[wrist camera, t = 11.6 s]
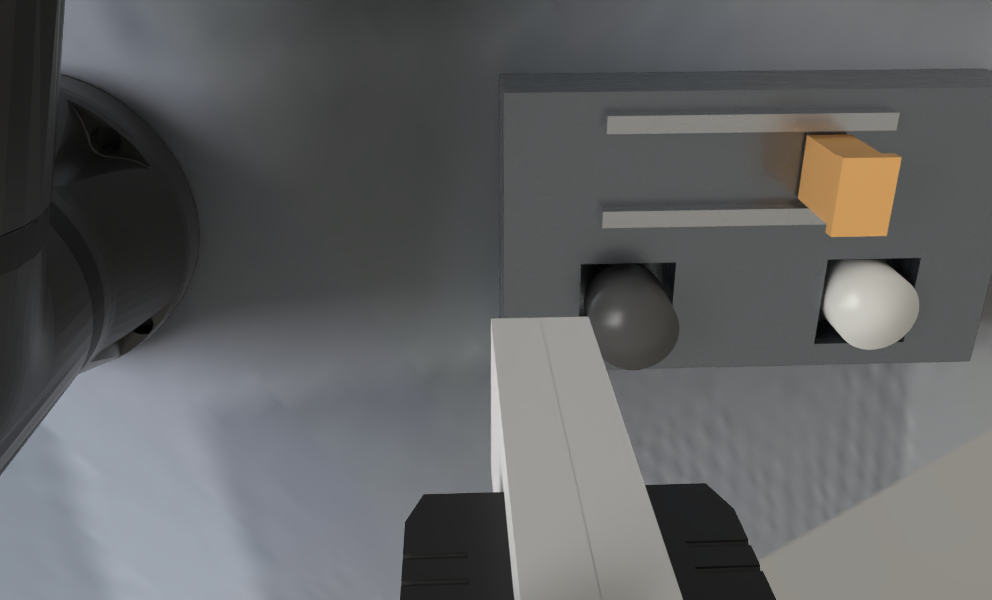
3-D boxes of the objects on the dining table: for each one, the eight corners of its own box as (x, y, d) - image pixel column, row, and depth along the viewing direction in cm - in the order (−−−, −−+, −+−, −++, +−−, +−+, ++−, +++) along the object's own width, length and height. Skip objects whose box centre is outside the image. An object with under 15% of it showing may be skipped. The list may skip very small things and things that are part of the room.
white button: (805, 319, 47) (830, 350, 44) (816, 248, 45) (843, 275, 42) (879, 317, 47) (910, 348, 44) (893, 247, 45) (926, 274, 42)
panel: (500, 331, 49) (504, 379, 44) (499, 74, 43) (505, 96, 38) (927, 322, 50) (978, 368, 45) (983, 68, 44) (1048, 90, 39)
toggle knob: (793, 202, 42) (830, 236, 37) (803, 130, 40) (843, 158, 36) (843, 201, 42) (886, 235, 38) (855, 129, 40) (901, 157, 36)
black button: (582, 337, 45) (591, 371, 42) (585, 264, 43) (595, 293, 40) (660, 335, 45) (675, 369, 42) (666, 262, 44) (682, 291, 40)
